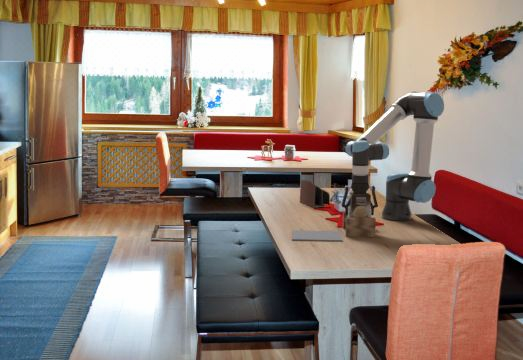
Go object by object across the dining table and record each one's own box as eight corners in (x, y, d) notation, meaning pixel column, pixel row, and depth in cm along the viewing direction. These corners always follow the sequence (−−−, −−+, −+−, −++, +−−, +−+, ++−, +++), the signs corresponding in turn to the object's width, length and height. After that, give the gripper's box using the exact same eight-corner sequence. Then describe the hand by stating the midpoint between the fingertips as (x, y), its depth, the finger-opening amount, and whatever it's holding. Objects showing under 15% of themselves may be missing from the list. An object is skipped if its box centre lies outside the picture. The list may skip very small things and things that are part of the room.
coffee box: (350, 229, 308) (351, 195, 306) (348, 226, 314) (348, 192, 312) (370, 229, 308) (371, 195, 306) (367, 226, 315) (368, 192, 312)
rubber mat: (339, 232, 310) (339, 231, 310) (342, 241, 292) (342, 240, 292) (291, 231, 311) (291, 230, 311) (292, 240, 293) (292, 239, 293)
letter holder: (313, 208, 368) (314, 183, 366) (299, 202, 387) (300, 178, 385) (329, 207, 372) (330, 182, 370) (315, 201, 390) (315, 177, 388)
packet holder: (369, 227, 321) (370, 211, 320) (375, 236, 301) (375, 219, 300) (342, 226, 322) (343, 210, 320) (346, 236, 302) (346, 218, 301)
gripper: (383, 173, 311) (381, 220, 314) (335, 173, 312) (335, 220, 315) (385, 175, 303) (384, 223, 307) (336, 175, 304) (336, 223, 308)
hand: (359, 221), depth 311 cm, fingers closed on coffee box, 9 cm apart
